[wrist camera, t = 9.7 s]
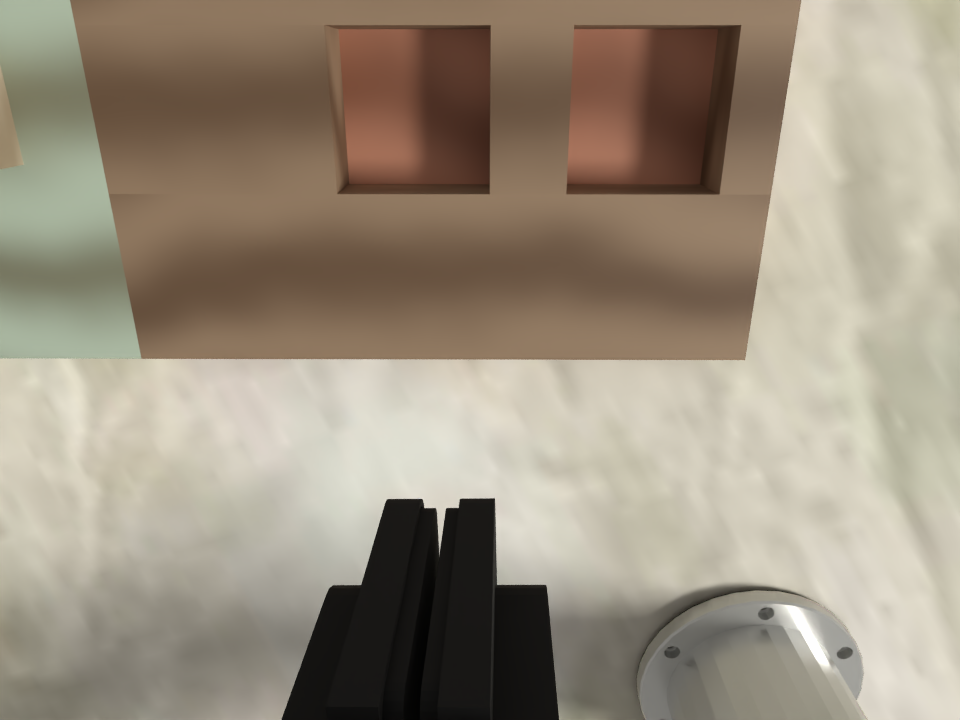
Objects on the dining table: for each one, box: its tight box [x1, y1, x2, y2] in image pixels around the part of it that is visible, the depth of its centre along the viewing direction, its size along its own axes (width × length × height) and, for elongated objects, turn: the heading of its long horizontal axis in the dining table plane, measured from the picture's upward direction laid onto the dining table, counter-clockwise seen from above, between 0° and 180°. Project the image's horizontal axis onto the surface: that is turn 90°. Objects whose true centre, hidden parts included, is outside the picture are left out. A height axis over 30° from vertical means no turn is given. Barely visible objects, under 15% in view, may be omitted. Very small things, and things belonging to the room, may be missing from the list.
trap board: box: [0, 0, 801, 360], centre depth 28 cm, size 20×34×3 cm, turn 90°
